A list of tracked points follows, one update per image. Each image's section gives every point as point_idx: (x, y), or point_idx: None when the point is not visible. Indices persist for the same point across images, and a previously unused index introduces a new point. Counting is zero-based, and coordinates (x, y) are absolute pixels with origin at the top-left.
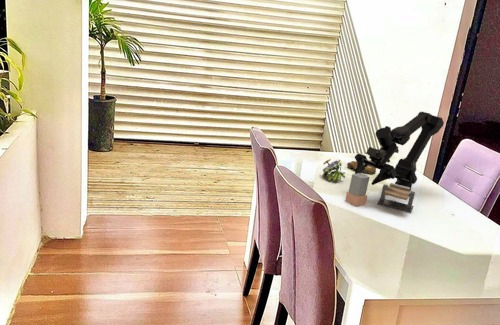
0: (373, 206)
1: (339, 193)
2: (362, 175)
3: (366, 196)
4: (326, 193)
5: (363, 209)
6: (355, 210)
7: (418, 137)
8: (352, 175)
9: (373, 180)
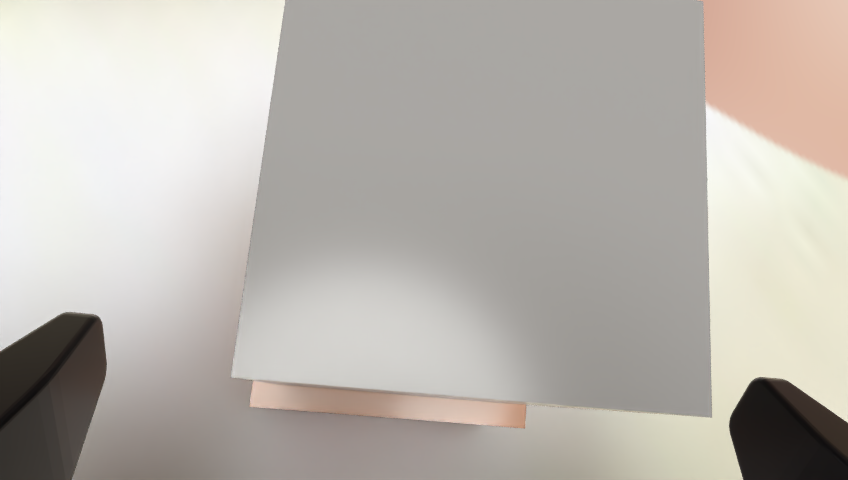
0: (143, 466)
1: (721, 396)
2: (485, 246)
3: (254, 384)
4: (775, 212)
5: (169, 197)
6: (214, 62)
7: None
8: (665, 14)
9: (31, 377)
